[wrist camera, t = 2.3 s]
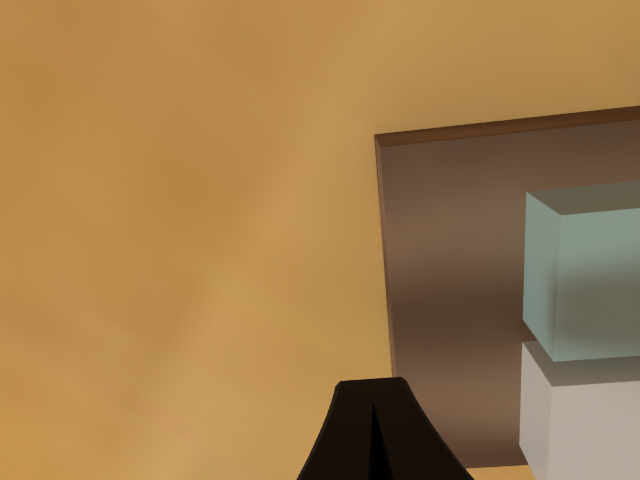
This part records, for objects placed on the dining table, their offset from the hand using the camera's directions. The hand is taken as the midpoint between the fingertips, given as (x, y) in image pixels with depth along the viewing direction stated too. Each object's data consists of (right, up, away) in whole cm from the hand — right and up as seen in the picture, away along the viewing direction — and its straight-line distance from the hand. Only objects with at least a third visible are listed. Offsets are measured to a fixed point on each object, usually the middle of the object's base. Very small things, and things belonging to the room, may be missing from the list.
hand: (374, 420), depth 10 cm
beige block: (+9, -2, +8) cm, 12 cm away
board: (+8, +2, +10) cm, 13 cm away
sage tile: (+8, +3, +6) cm, 11 cm away
